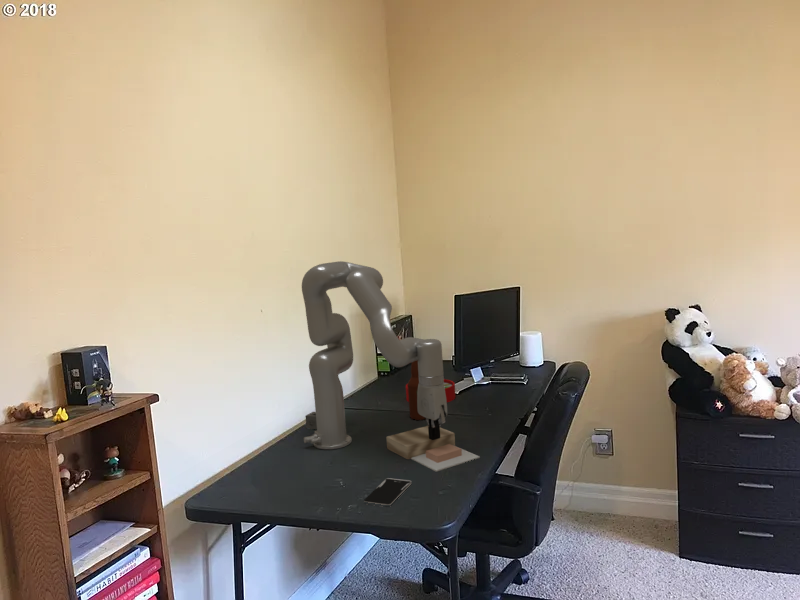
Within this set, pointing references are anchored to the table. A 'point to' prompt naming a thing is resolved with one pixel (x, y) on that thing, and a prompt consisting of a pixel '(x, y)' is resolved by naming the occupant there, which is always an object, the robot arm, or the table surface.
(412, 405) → the bottle
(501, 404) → the table surface
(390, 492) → the smartphone
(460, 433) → the table surface
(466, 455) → the mat
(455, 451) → the tile
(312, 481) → the table surface
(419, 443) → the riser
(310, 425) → the dice cube
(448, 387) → the toy clock
